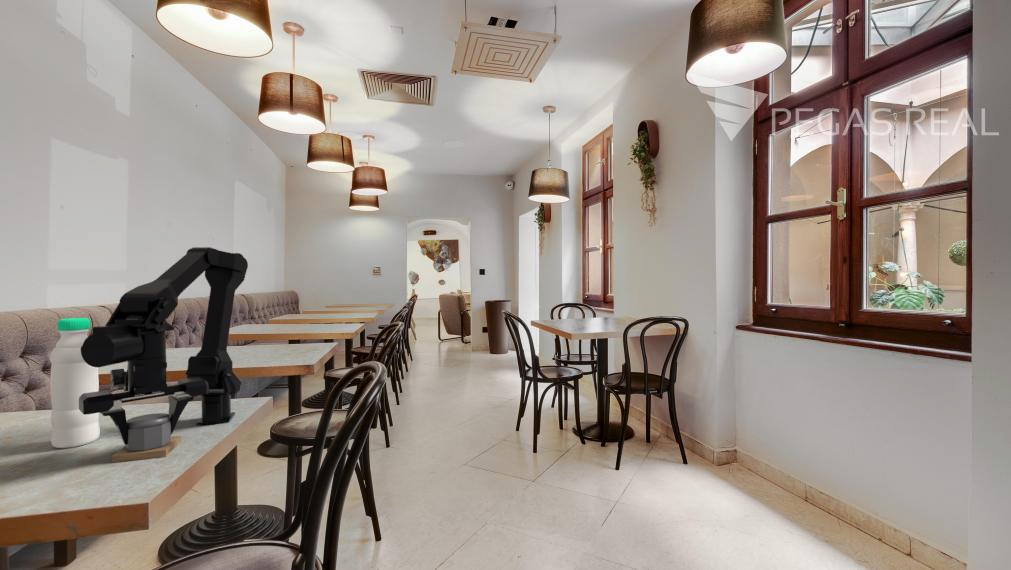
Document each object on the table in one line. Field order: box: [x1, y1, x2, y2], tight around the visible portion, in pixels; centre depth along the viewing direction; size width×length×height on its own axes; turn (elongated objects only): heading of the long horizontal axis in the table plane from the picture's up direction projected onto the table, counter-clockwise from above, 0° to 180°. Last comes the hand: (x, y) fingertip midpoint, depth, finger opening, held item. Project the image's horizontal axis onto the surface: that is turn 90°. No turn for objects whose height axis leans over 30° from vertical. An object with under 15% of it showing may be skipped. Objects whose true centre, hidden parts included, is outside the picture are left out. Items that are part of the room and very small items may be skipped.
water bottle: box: [49, 317, 101, 449], centre depth 91 cm, size 7×7×25 cm
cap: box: [124, 412, 172, 451], centre depth 86 cm, size 6×6×5 cm
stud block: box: [112, 435, 182, 463], centre depth 86 cm, size 8×8×5 cm
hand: (148, 439), depth 86 cm, fingers closed on cap, 6 cm apart
